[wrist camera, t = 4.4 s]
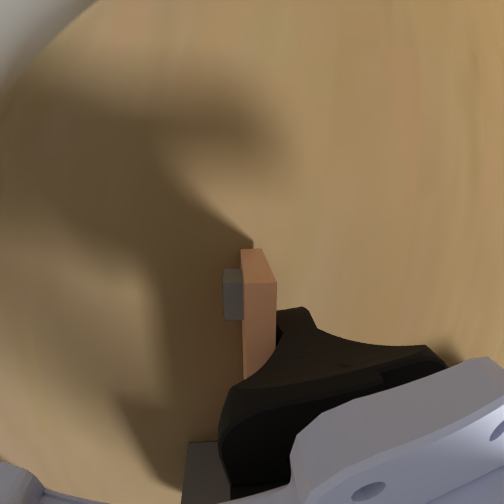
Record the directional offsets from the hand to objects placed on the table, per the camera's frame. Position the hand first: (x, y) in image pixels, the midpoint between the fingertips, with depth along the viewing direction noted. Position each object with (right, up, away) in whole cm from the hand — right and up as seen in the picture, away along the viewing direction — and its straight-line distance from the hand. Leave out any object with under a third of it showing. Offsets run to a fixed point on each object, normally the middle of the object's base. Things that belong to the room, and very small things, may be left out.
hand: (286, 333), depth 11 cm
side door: (-2, -2, +2) cm, 3 cm away
